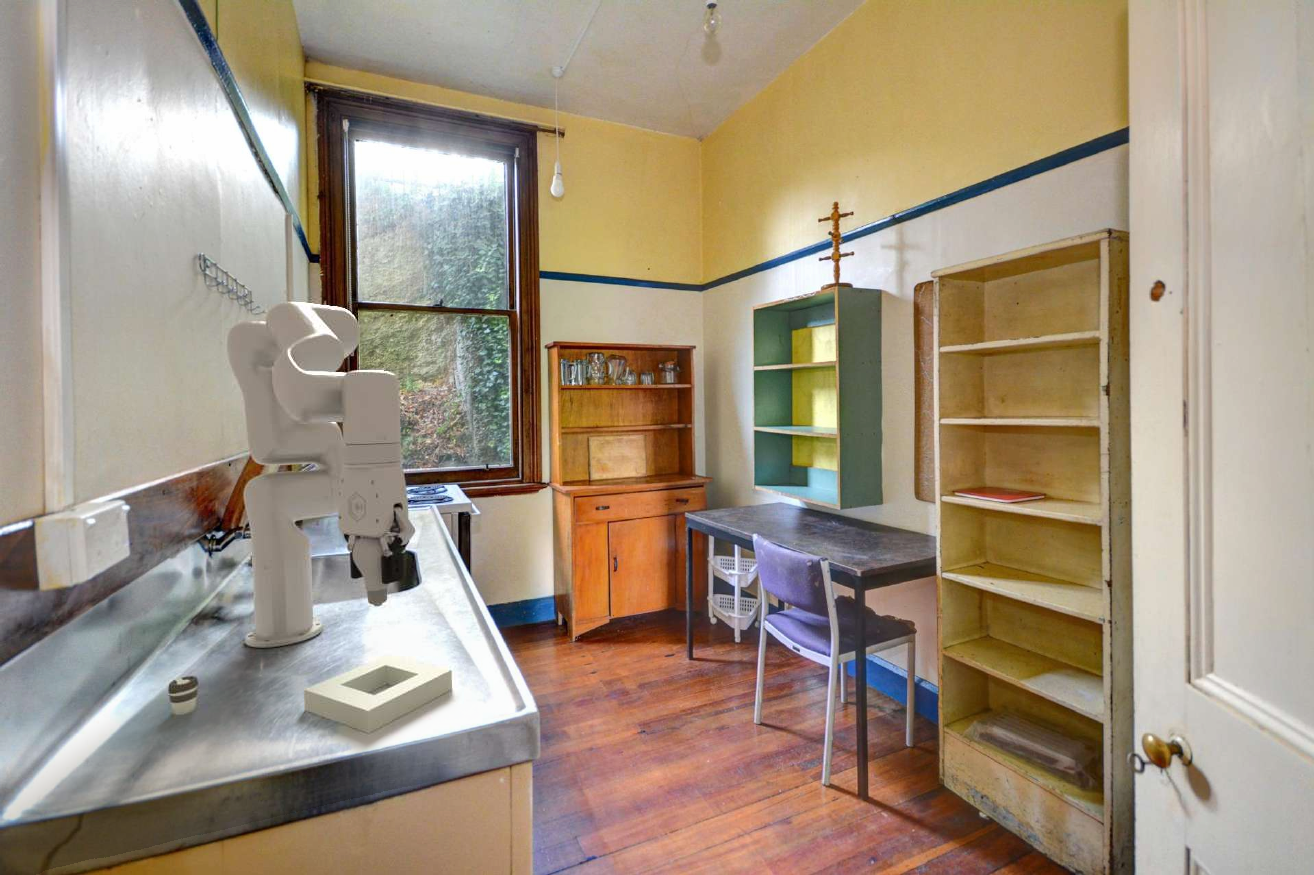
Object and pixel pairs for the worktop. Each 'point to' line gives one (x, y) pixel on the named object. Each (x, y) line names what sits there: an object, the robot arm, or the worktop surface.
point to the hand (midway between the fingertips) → (377, 578)
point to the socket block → (369, 712)
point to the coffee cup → (183, 694)
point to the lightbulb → (371, 567)
